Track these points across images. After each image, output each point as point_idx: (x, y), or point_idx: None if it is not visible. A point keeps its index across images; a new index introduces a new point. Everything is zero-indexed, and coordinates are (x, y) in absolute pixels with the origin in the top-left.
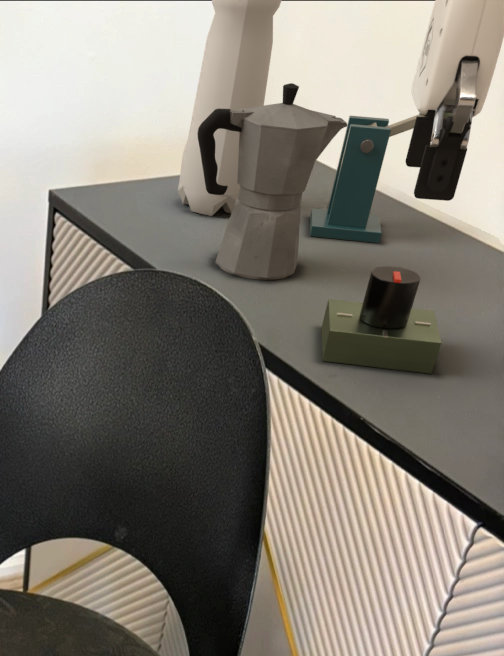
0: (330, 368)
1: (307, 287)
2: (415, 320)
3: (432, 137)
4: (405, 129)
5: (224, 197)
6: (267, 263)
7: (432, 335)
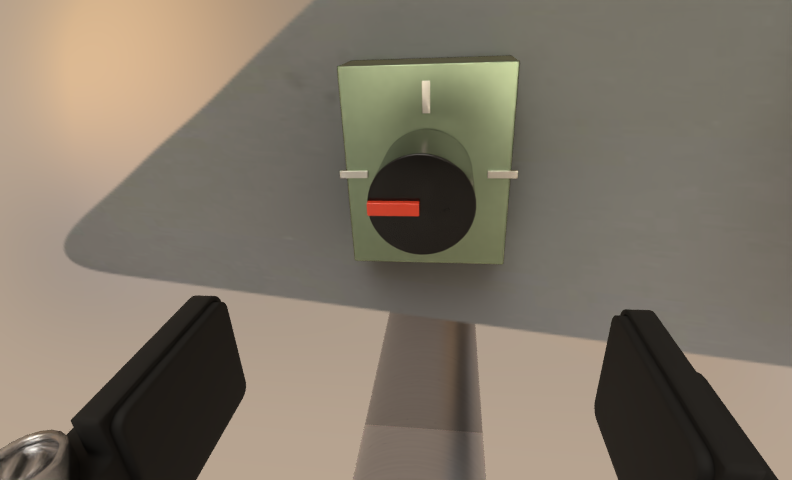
0: (326, 77)
1: (778, 14)
2: None
3: (49, 470)
4: None
5: None
6: None
7: (380, 250)
